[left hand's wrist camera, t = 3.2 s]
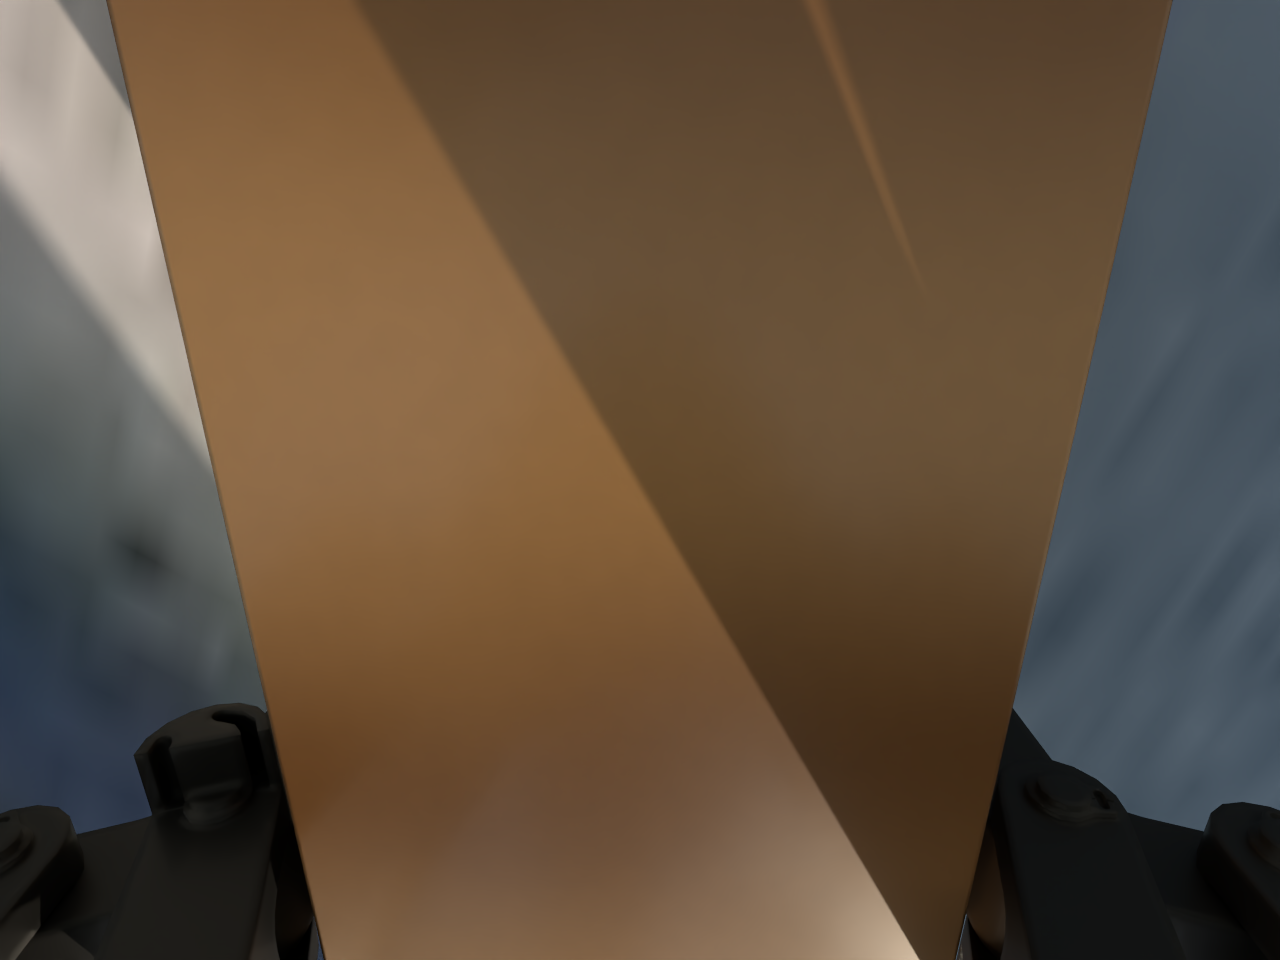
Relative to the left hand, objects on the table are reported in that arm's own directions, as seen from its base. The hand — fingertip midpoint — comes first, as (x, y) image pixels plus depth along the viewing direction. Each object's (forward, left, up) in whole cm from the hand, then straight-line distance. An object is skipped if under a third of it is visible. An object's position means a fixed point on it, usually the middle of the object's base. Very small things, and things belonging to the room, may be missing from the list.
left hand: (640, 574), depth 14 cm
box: (+7, +2, -1) cm, 8 cm away
